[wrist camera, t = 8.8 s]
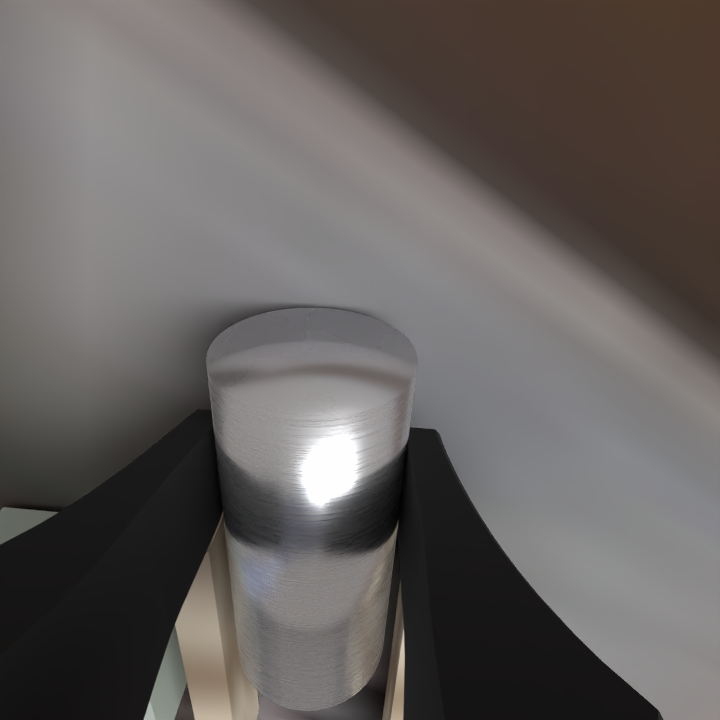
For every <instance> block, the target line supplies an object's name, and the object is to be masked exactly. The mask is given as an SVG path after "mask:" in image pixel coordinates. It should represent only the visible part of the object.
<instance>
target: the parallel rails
mask: <svg viewBox="0 0 720 720" xmlns="http://www.w3.org/2000/svg"><path fill="white" fill-rule="evenodd" d="M175 627H176V631H177V636H178V641H179V646H180V650H181V655H182V660H183V665H184V669H185V674H186V679H187V684H188V688H189V693H190V698H191V703H192V708H193V712H194V717H195V720H257V716H258V712H259V704H258V693H257V690H256V689H255V688H254V687H253V686H252V684H251V683H250V682H249V680H248V678H247V677H246V675H245V673H244V671H243V668H242V666H241V663H240V659H239V653H238V644H237V635H236V626H235V617H234V608H233V599H232V590H231V581H230V572H229V563H228V554H227V545H226V536H225V527H224V518H223V512H222V515H221V519H220V522H219V524H218V526H217V529H216V531H215V533H214V536H213V538H212V540H211V543H210V545H209V547H208V549H207V552H206V554H205V556H204V559H203V561H202V563H201V565H200V568H199V570H198V572H197V574H196V577H195V579H194V581H193V583H192V586H191V588H190V590H189V592H188V595H187V597H186V599H185V601H184V604H183V606H182V608H181V610H180V613H179V615H178V618H177V620H176V623H175ZM404 668H405V648H404V625H403V610H402V595H401V580H400V586H399V594H398V602H397V610H396V618H395V625H394V633H393V641H392V649H391V656H390V664H389V672H388V680H387V687H386V695H385V703H384V711H383V718H382V720H403V710H404Z"/></svg>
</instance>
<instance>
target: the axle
mask: <svg viewBox="0 0 720 720" xmlns="http://www.w3.org/2000/svg"><path fill="white" fill-rule="evenodd" d="M417 361H418V358H417V354H416V351H415V349H414V347H413V345H412V343H411V342H410V341H409V339H408V338H407V337H405V336H404V335H403V334H402V333H401V332H400V331H398V330H397V329H396V328H394V327H392V326H390V325H389V324H387V323H385V322H382V321H380V320H378V319H375V318H373V317H370V316H367V315H363V314H360V313H356V312H351V311H346V310H339V309H331V308H291V309H282V310H276V311H271V312H266V313H262V314H259V315H255V316H252V317H249V318H246V319H244V320H242V321H240V322H237V323H235V324H234V325H232V326H230V327H228V328H227V329H226V330H224V331H223V332H221V333H220V334H219V335H218V336H217V337H216V338H215V339H214V341H213V342H212V343H211V345H210V347H209V349H208V351H207V355H206V365H207V374H208V383H209V392H210V401H211V410H212V419H213V428H214V437H215V446H216V455H217V464H218V473H219V482H220V491H221V500H222V509H223V518H224V527H225V536H226V545H227V554H228V563H229V572H230V581H231V590H232V599H233V608H234V617H235V626H236V635H237V644H238V653H239V659H240V663H241V666H242V668H243V671H244V673H245V675H246V677H247V678H248V680H249V682H250V683H251V684H252V686H253V687H254V688H255V689H256V690H257V691H258V692H259V693H260V694H261V695H262V696H264V697H265V698H267V699H268V700H270V701H271V702H273V703H275V704H277V705H280V706H282V707H286V708H289V709H293V710H300V711H315V710H322V709H326V708H330V707H333V706H336V705H338V704H340V703H343V702H344V701H346V700H348V699H349V698H351V697H353V696H354V695H355V694H356V693H358V692H359V691H360V690H361V689H362V688H363V687H364V686H365V685H366V684H367V683H368V681H369V680H370V679H371V677H372V676H373V674H374V672H375V670H376V669H377V667H378V664H379V661H380V659H381V655H382V651H383V644H384V636H385V628H386V620H387V611H388V603H389V595H390V587H391V578H392V570H393V562H394V554H395V545H396V537H397V529H398V521H399V511H400V503H401V494H402V486H403V478H404V469H405V461H406V452H407V444H408V437H409V430H410V422H411V414H412V405H413V397H414V389H415V381H416V372H417Z"/></svg>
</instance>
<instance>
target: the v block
mask: <svg viewBox="0 0 720 720" xmlns="http://www.w3.org/2000/svg"><path fill="white" fill-rule="evenodd" d="M57 513H58V512H50V511H40V510H29V509H19V508H8V507H3V508H2V509H1V510H0V544H2V543H4V542H6V541H8V540H10V539H12V538H14V537H16V536H17V535H19V534H21V533H23V532H25V531H27V530H29V529H31V528H33V527H34V526H36V525H38V524H40V523H42V522H43V521H45V520H47V519H48V518H50V517H52V516H53V515H55V514H57ZM186 684H187V679H186V674H185V669H184V665H183V660H182V655H181V650H180V646H179V641H178V636H177V631H176V627H175V626H174V628H173V631H172V633H171V636H170V639H169V642H168V645H167V648H166V651H165V654H164V657H163V660H162V663H161V666H160V670H159V673H158V676H157V679H156V682H155V685H154V688H153V691H152V695H151V698H150V701H149V704H148V708H147V711H146V714H145V717H144V720H174V719H175V716H176V713H177V710H178V707H179V704H180V701H181V699H182V696H183V693H184V690H185V687H186Z"/></svg>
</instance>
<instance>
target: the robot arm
mask: <svg viewBox="0 0 720 720" xmlns="http://www.w3.org/2000/svg"><path fill="white" fill-rule="evenodd" d="M222 512H223V509H222V500H221V491H220V482H219V473H218V464H217V455H216V446H215V437H214V428H213V419H212V411H211V410H199V409H198V410H197V411H195V412H194V413H193V414H191V415H190V416H189V417H188V418H186V419H185V420H184V421H183V422H182V423H180V424H179V425H178V426H177V427H175V428H174V429H173V430H172V431H170V432H169V433H168V434H167V435H166V436H164V437H163V438H162V439H161V440H159V441H158V442H157V443H156V444H154V445H153V446H152V447H151V448H149V449H148V450H147V451H146V452H144V453H143V454H142V455H141V456H139V457H138V458H137V459H135V460H134V461H133V462H132V463H130V464H129V465H128V466H126V467H125V468H123V469H122V470H121V471H119V472H118V473H116V474H115V475H114V476H112V477H111V478H109V479H108V480H107V481H105V482H104V483H103V484H101V485H100V486H98V487H97V488H96V489H94V490H93V491H91V492H90V493H88V494H87V495H85V496H84V497H82V498H81V499H79V500H78V501H76V502H74V503H73V504H71V505H70V506H68V507H67V508H65V509H63V510H62V511H60V512H58V513H57V514H55V515H53V516H52V517H50V518H48V519H47V520H45V521H43V522H42V523H40V524H38V525H36V526H34V527H33V528H31V529H29V530H27V531H25V532H23V533H21V534H19V535H17V536H16V537H14V538H12V539H10V540H8V541H6V542H4V543H2V544H0V720H144V717H145V714H146V711H147V708H148V704H149V701H150V698H151V695H152V691H153V688H154V685H155V682H156V679H157V676H158V673H159V670H160V666H161V663H162V660H163V657H164V654H165V651H166V648H167V645H168V642H169V639H170V636H171V633H172V631H173V628H174V626H175V623H176V620H177V618H178V615H179V613H180V610H181V608H182V606H183V604H184V601H185V599H186V597H187V595H188V592H189V590H190V588H191V586H192V583H193V581H194V579H195V577H196V574H197V572H198V570H199V568H200V565H201V563H202V561H203V559H204V556H205V554H206V552H207V549H208V547H209V545H210V543H211V540H212V538H213V536H214V533H215V531H216V529H217V526H218V524H219V522H220V519H221V515H222ZM398 548H399V564H400V580H401V595H402V610H403V625H404V648H405V668H404V710H403V720H663V718H662V716H661V714H660V712H659V711H658V710H657V709H656V708H655V707H654V706H653V705H652V704H651V703H649V702H648V701H647V700H646V699H645V698H644V697H643V696H641V695H640V694H639V693H638V692H637V691H636V690H634V689H633V688H632V687H631V686H630V685H629V684H628V683H626V682H625V681H624V680H623V679H622V678H621V677H619V676H618V675H617V674H616V673H615V672H614V671H613V670H611V669H610V668H609V667H608V666H607V665H606V664H605V663H604V662H602V661H601V660H600V659H599V658H598V657H597V656H596V655H595V654H594V653H593V652H592V651H591V650H590V649H589V648H588V647H587V646H586V645H585V644H584V643H583V642H582V641H581V640H580V639H579V638H578V637H577V636H576V635H575V634H574V633H573V632H572V631H571V630H570V629H569V628H568V627H567V626H566V625H565V623H564V622H563V621H562V620H561V619H560V618H559V617H558V616H557V615H556V614H555V613H554V612H553V610H552V609H551V608H550V607H549V606H548V605H547V604H546V603H545V602H544V601H543V600H542V598H541V597H540V596H539V595H538V594H537V593H536V592H535V590H534V589H533V588H532V587H531V586H530V584H529V583H528V582H527V581H526V579H525V578H524V577H523V576H522V575H521V573H520V572H519V571H518V570H517V568H516V567H515V566H514V564H513V563H512V562H511V560H510V559H509V558H508V556H507V555H506V554H505V552H504V551H503V550H502V548H501V547H500V545H499V544H498V542H497V541H496V540H495V538H494V537H493V535H492V534H491V532H490V531H489V529H488V528H487V526H486V524H485V523H484V521H483V520H482V518H481V517H480V515H479V513H478V512H477V510H476V508H475V507H474V505H473V503H472V502H471V500H470V498H469V496H468V494H467V493H466V491H465V489H464V487H463V485H462V484H461V482H460V480H459V478H458V476H457V474H456V472H455V470H454V468H453V466H452V464H451V462H450V459H449V457H448V455H447V453H446V450H445V448H444V445H443V443H442V440H441V437H440V434H439V433H438V432H437V431H436V430H435V429H423V428H411V427H410V430H409V437H408V444H407V452H406V461H405V469H404V478H403V486H402V494H401V503H400V511H399V521H398Z"/></svg>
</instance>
